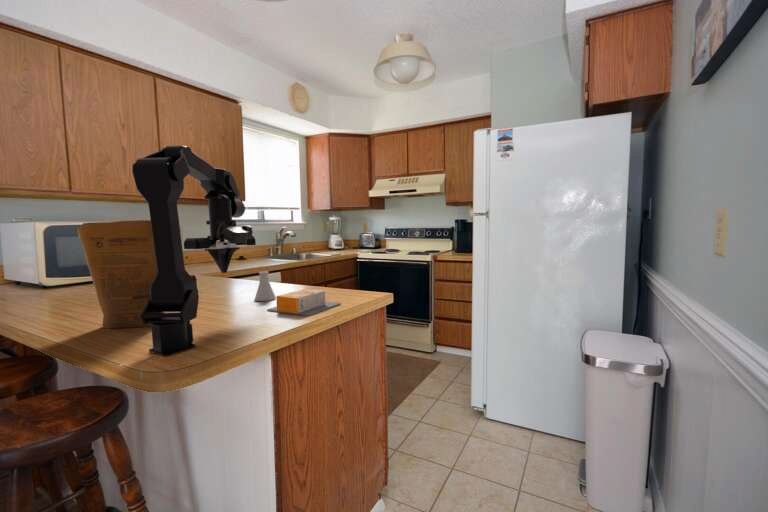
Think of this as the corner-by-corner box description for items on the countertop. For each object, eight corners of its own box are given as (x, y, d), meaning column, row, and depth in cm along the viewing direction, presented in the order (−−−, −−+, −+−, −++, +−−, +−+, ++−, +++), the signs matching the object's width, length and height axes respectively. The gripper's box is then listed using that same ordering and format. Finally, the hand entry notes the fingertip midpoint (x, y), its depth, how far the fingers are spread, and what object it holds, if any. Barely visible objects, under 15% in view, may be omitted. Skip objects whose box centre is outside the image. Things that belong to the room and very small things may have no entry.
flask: (260, 297, 127) (259, 270, 126) (279, 297, 126) (278, 270, 125) (250, 301, 120) (248, 273, 119) (270, 302, 119) (268, 273, 118)
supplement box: (275, 295, 102) (305, 288, 113) (276, 311, 102) (305, 302, 114) (297, 297, 98) (325, 290, 110) (297, 314, 98) (325, 304, 110)
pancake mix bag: (162, 328, 89) (154, 219, 87) (84, 331, 88) (73, 221, 86) (176, 321, 96) (168, 220, 94) (103, 324, 95) (94, 222, 92)
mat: (307, 316, 98) (307, 314, 98) (267, 310, 106) (267, 309, 105) (340, 304, 112) (340, 303, 112) (303, 300, 119) (302, 299, 119)
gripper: (207, 215, 83) (212, 279, 85) (267, 216, 100) (270, 269, 101) (180, 216, 89) (184, 277, 90) (241, 217, 105) (244, 268, 106)
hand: (224, 272), depth 97 cm, fingers closed
